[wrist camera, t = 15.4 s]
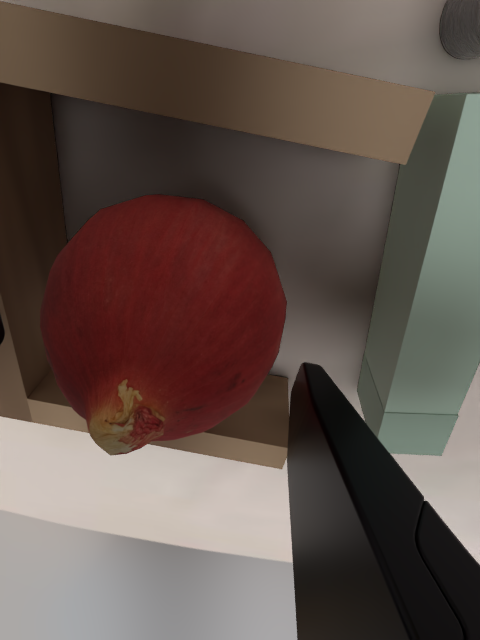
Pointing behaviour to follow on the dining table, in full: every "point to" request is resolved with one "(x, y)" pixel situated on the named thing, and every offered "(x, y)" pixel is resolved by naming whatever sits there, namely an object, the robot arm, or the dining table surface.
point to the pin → (461, 28)
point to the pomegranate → (161, 319)
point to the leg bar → (428, 287)
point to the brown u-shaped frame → (173, 101)
